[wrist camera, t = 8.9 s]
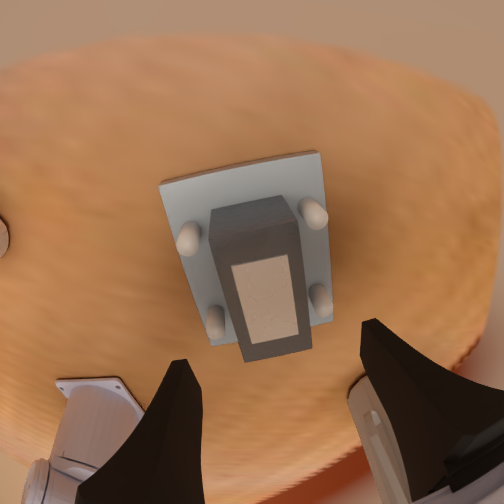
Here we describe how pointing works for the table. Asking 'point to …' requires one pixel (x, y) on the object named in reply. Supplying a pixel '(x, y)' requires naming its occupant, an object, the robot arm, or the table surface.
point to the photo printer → (3, 239)
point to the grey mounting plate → (238, 191)
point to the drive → (262, 276)
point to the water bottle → (379, 443)
